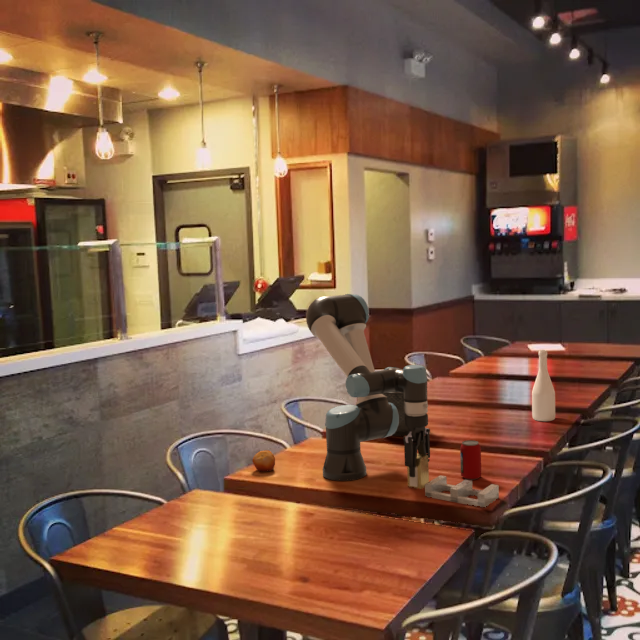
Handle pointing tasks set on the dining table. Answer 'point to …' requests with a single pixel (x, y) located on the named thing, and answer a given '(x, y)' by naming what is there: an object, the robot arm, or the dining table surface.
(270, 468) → the fruit
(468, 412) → the dining table surface
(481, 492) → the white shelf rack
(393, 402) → the planter
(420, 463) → the brass block
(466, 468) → the beverage can
